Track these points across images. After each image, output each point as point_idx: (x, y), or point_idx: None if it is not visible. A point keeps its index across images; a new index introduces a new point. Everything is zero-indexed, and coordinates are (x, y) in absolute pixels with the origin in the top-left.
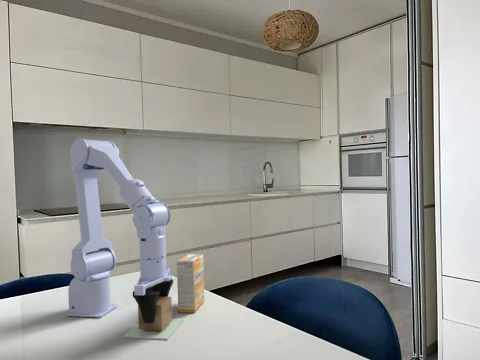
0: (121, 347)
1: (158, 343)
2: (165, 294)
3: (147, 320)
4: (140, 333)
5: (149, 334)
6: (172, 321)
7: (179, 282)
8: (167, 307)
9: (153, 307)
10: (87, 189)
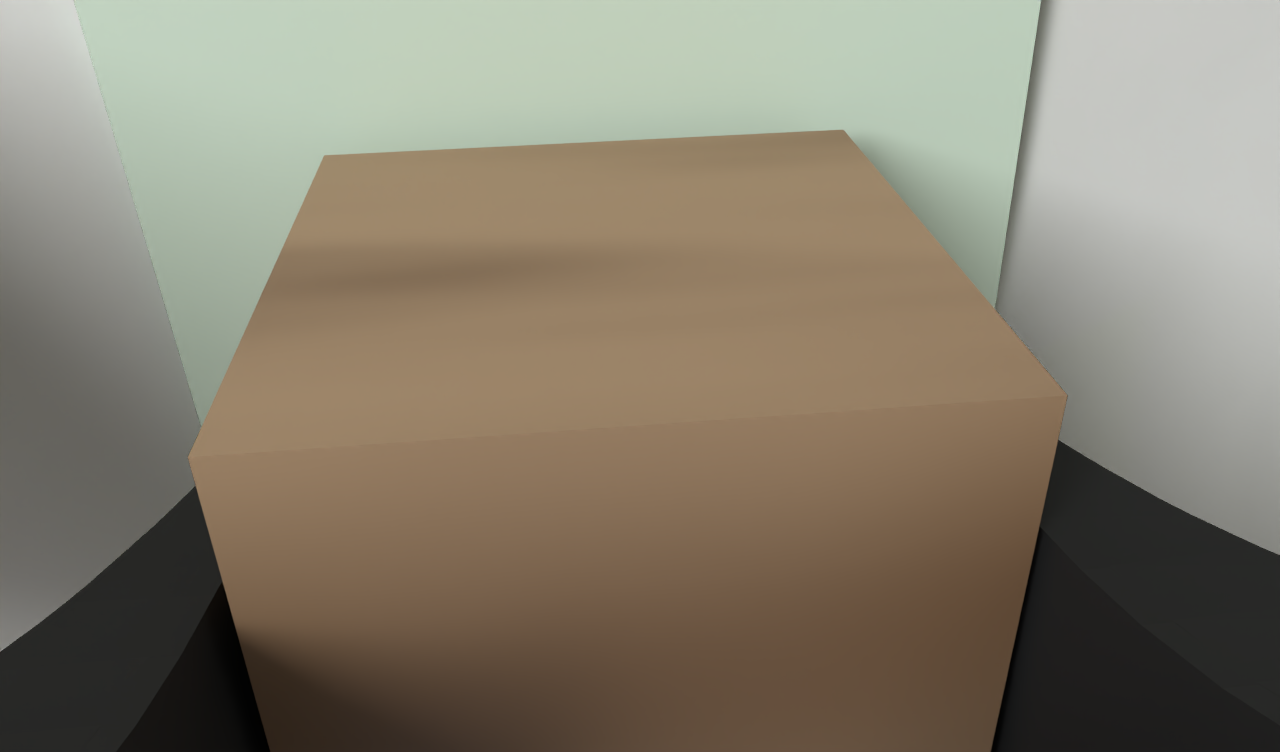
0: (1240, 471)
1: (1168, 5)
2: (192, 693)
3: None
4: None
5: None
6: (260, 162)
7: None
8: (565, 311)
9: (1207, 526)
10: None
